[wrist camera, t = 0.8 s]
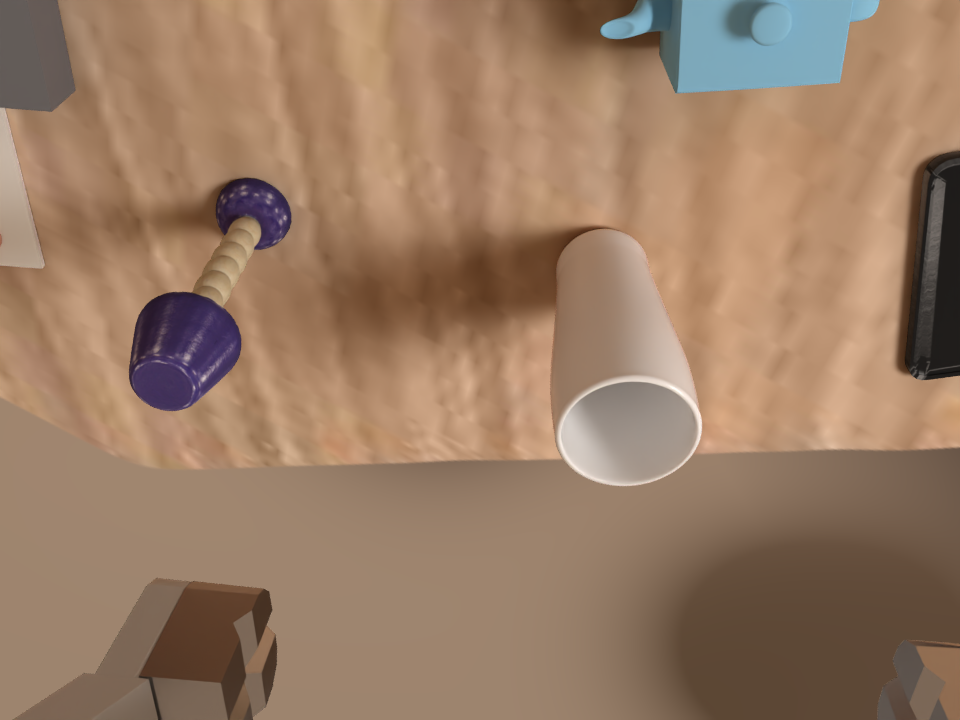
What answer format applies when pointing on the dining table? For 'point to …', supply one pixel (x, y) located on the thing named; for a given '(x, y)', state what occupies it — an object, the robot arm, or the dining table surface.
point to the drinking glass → (618, 367)
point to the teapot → (746, 40)
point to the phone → (936, 275)
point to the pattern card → (15, 208)
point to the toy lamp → (205, 305)
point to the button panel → (33, 56)
